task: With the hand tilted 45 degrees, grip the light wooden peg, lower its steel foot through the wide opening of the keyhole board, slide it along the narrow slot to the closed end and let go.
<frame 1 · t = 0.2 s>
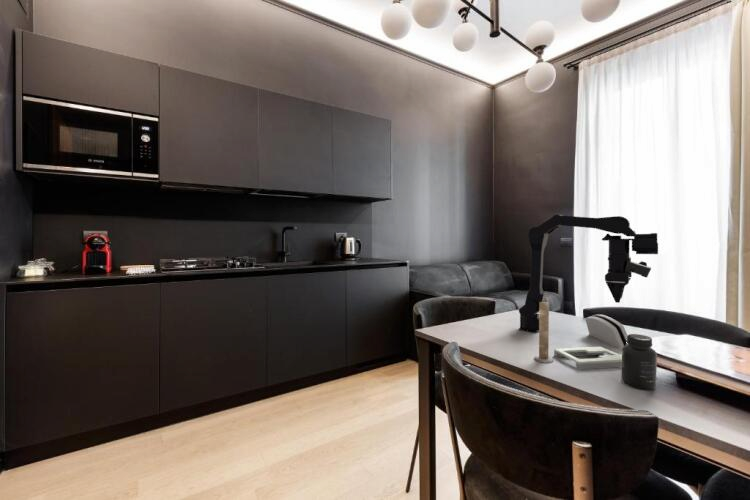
hand: (618, 300, 117), 15 cm above the table, tool pointing down, fingers open, 9 cm apart
supplement bottle: (638, 385, 85), on the table
grey curved piece: (607, 342, 120), on the table
keyhole board: (582, 361, 101), on the table
peg: (543, 359, 103), on the table
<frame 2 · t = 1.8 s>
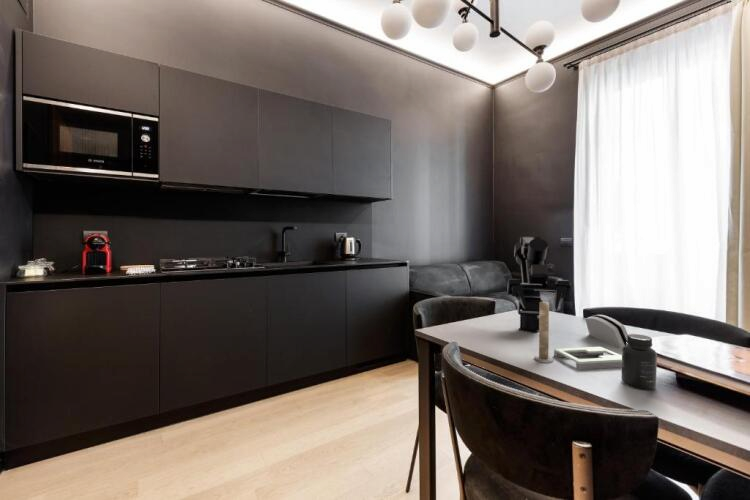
hand: (540, 309, 110), 13 cm above the table, tool tilted 45°, fingers open, 9 cm apart
nothing on the table moved.
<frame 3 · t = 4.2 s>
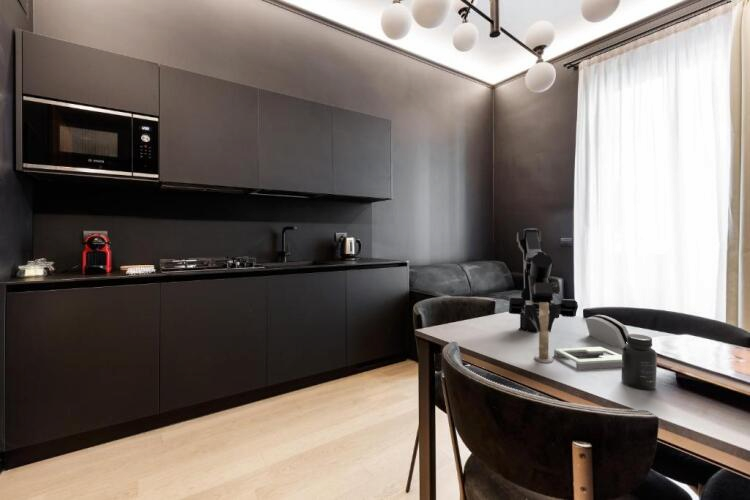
hand: (544, 331, 101), 9 cm above the table, tool tilted 45°, fingers closed on peg, 2 cm apart
peg: (543, 359, 103), on the table, touching gripper
everything else where it was.
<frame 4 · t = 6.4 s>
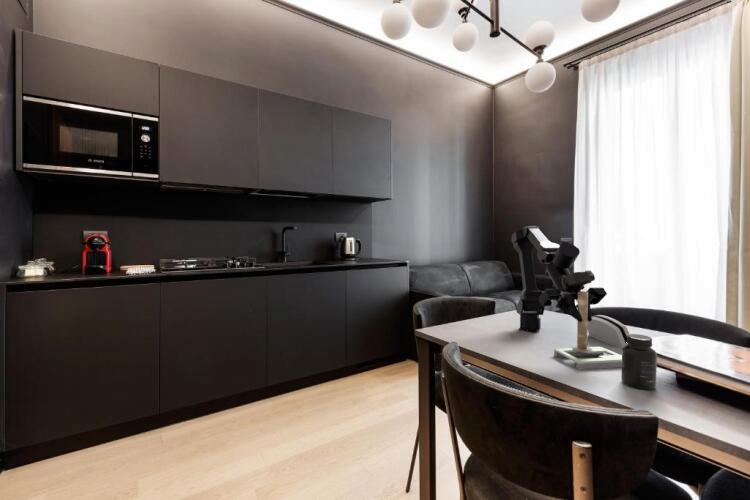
hand: (585, 321, 99), 12 cm above the table, tool tilted 45°, fingers closed on peg, 2 cm apart
peg: (582, 350, 101), point 3 cm above the table, touching gripper
everything else where it was.
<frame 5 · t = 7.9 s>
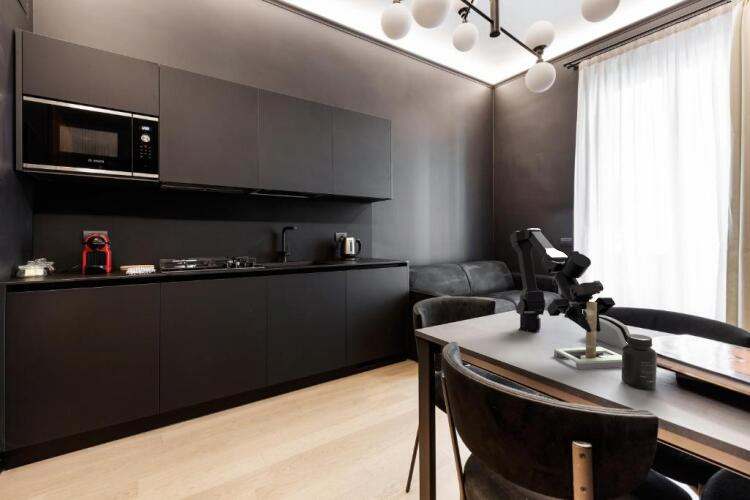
hand: (594, 331, 100), 9 cm above the table, tool tilted 45°, fingers closed on peg, 2 cm apart
peg: (590, 360, 102), on the table, touching gripper
when the fingers open (9 cm above the table, at t = 8.9 s): peg stays where it is, on the table.
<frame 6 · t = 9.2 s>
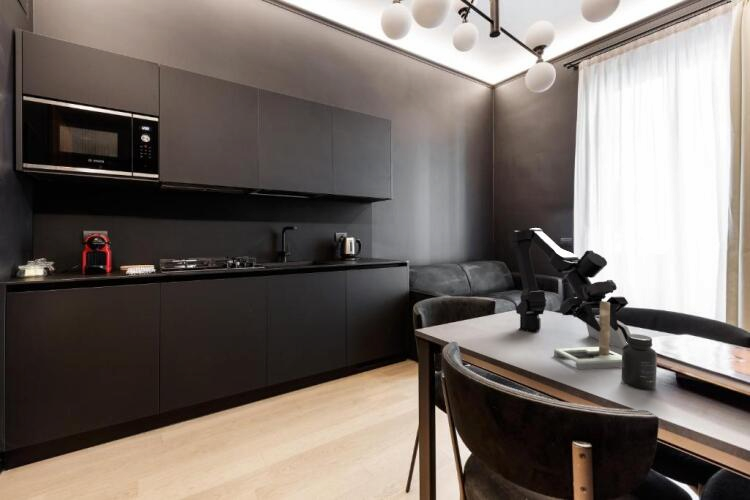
hand: (608, 330, 100), 9 cm above the table, tool tilted 45°, fingers open, 5 cm apart
peg: (603, 360, 102), on the table
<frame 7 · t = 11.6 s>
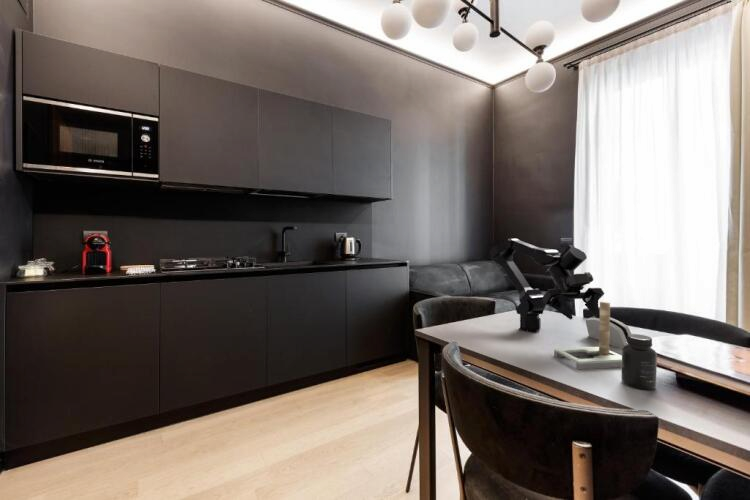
hand: (585, 318, 110), 10 cm above the table, tool tilted 45°, fingers open, 9 cm apart
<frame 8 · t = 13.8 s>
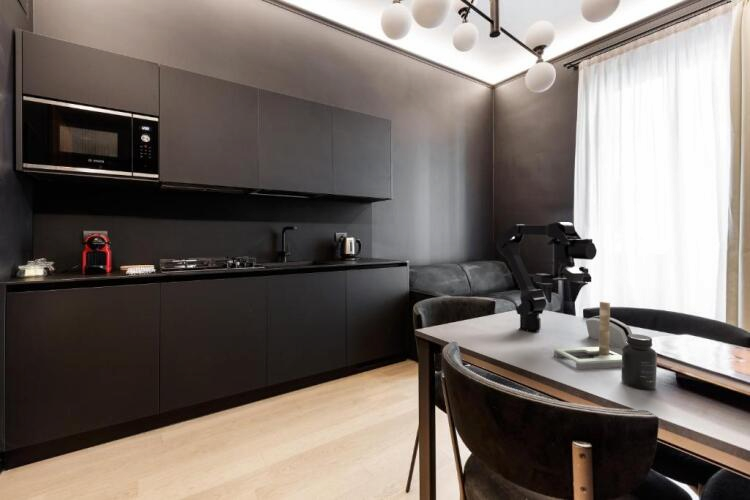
hand: (561, 302, 123), 13 cm above the table, tool pointing down, fingers open, 9 cm apart
at the end: peg 0.1 cm from the target spot, on the table; peg tilted 0°; the gripper is holding nothing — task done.
